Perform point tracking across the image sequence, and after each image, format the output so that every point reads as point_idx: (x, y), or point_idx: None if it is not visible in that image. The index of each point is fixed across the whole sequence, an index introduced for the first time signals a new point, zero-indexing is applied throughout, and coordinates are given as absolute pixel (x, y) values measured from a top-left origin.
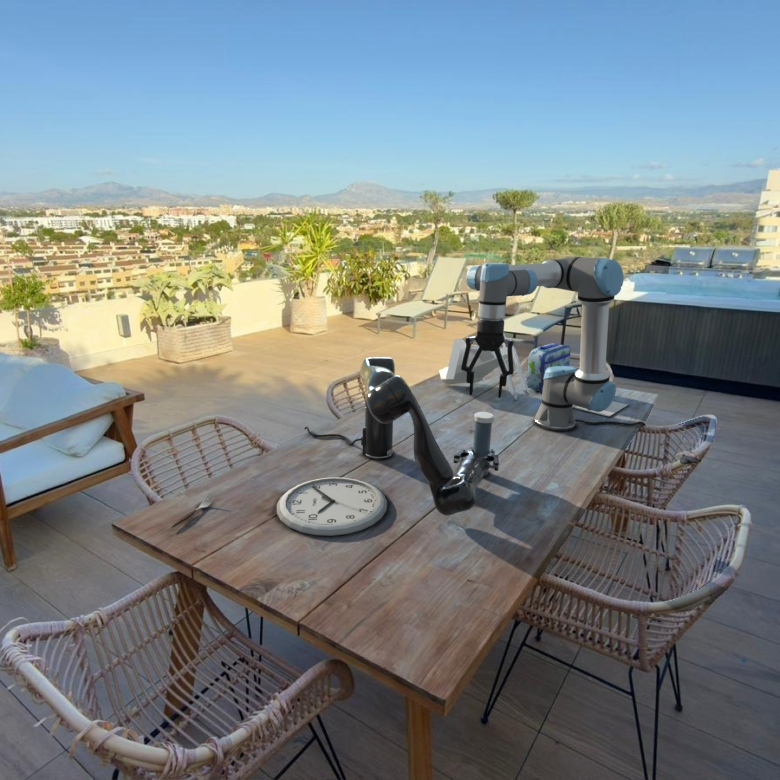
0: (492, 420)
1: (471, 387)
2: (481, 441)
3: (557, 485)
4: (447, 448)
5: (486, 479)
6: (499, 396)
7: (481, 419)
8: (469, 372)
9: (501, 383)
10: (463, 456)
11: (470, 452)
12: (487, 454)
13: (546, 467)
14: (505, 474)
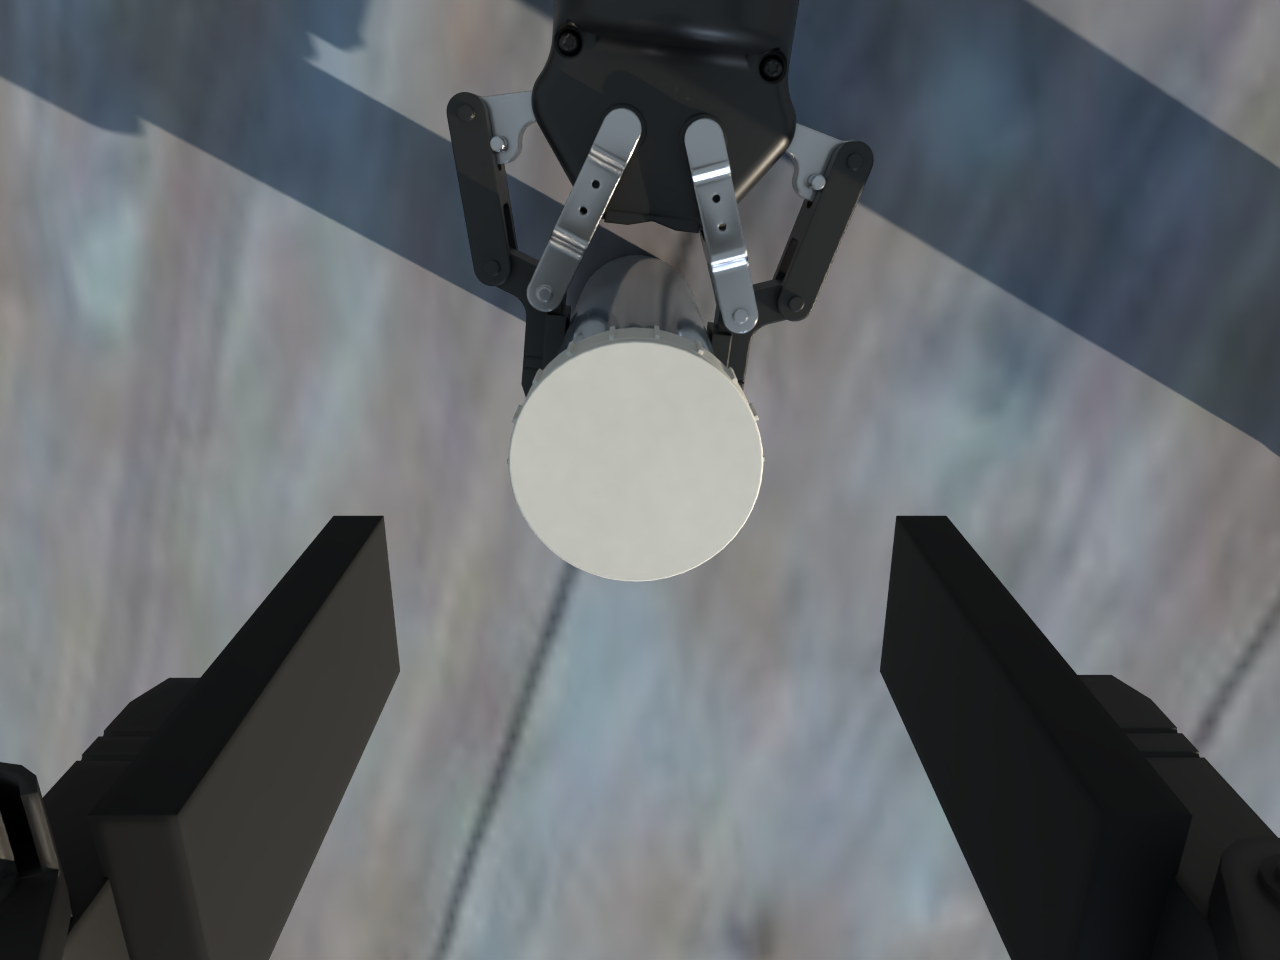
0: (518, 409)
1: (962, 586)
2: (635, 298)
3: (77, 285)
4: None
5: None
6: (351, 527)
7: (655, 335)
8: (1257, 853)
9: (212, 674)
10: (781, 278)
11: (726, 235)
12: (572, 272)
13: (198, 545)
14: (453, 350)
